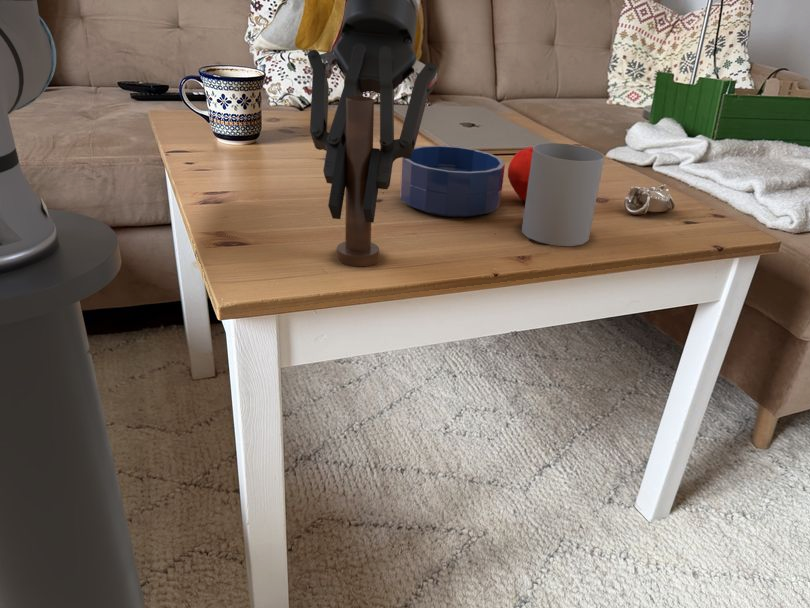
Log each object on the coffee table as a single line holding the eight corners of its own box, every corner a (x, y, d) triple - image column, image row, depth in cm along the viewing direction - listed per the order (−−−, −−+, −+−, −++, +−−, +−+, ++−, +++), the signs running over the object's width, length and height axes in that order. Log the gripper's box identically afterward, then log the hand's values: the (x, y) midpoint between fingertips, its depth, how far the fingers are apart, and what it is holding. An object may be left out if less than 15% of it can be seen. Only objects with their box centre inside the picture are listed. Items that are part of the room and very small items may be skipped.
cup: (548, 249, 78) (562, 163, 73) (508, 226, 84) (518, 144, 79) (602, 241, 82) (619, 159, 77) (560, 219, 88) (573, 141, 83)
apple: (500, 190, 97) (506, 138, 93) (553, 193, 98) (561, 142, 94) (508, 208, 90) (515, 152, 86) (565, 211, 91) (575, 156, 87)
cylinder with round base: (336, 265, 68) (335, 101, 60) (337, 249, 72) (336, 92, 64) (379, 267, 69) (384, 104, 61) (378, 251, 73) (383, 96, 65)
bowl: (402, 217, 83) (404, 169, 80) (397, 186, 94) (399, 142, 91) (507, 222, 85) (513, 175, 82) (489, 191, 96) (494, 148, 93)
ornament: (647, 200, 99) (653, 176, 97) (682, 215, 94) (689, 190, 93) (607, 205, 95) (612, 180, 94) (641, 221, 90) (647, 194, 89)
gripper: (455, 43, 74) (433, 239, 68) (314, 29, 74) (278, 223, 68) (457, -10, 67) (432, 204, 60) (300, -26, 67) (259, 186, 60)
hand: (351, 213), depth 64 cm, fingers closed on cylinder with round base, 2 cm apart
